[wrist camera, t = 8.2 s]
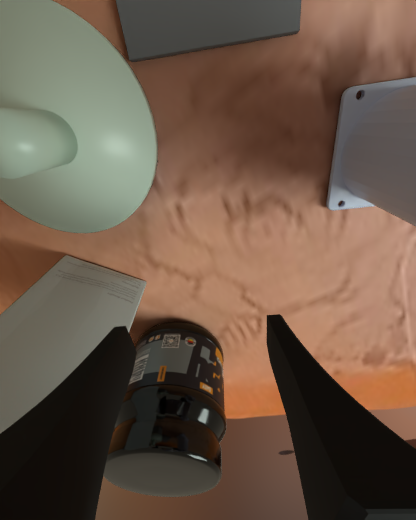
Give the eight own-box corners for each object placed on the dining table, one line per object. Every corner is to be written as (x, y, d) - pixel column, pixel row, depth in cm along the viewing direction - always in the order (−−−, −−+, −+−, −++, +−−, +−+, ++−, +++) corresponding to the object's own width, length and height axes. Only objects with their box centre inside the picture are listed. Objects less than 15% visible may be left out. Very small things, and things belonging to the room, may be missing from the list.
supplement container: (213, 378, 31) (213, 504, 21) (135, 367, 30) (95, 492, 20) (232, 325, 26) (244, 458, 16) (139, 310, 25) (86, 439, 15)
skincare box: (60, 295, 24) (-110, 485, 12) (66, 249, 21) (-153, 435, 9) (137, 319, 26) (62, 511, 13) (153, 279, 23) (75, 476, 10)
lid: (135, -12, 10) (85, -97, 6) (170, 225, 16) (155, 258, 12) (-100, 10, 11) (-283, -55, 7) (15, 231, 16) (-48, 265, 12)
